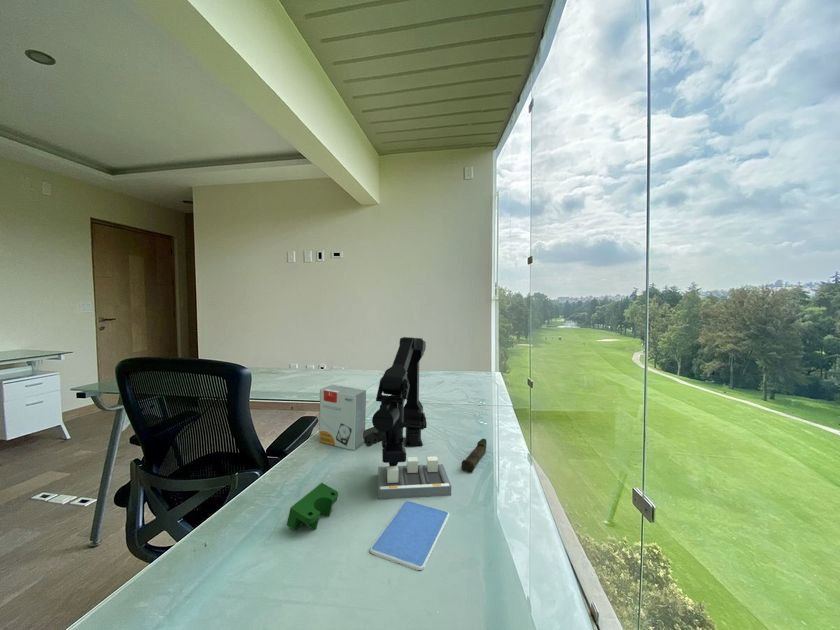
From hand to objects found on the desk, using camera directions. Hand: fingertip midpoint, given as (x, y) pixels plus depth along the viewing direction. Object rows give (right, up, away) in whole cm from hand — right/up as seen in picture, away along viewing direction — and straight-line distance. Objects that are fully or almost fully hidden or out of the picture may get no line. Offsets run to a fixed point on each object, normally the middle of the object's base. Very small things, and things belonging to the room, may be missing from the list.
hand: (392, 470), depth 96 cm
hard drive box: (-21, -2, +26) cm, 33 cm away
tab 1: (0, -1, -3) cm, 3 cm away
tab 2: (+6, -1, +3) cm, 6 cm away
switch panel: (+6, -4, +1) cm, 7 cm away
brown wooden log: (+27, -4, +17) cm, 32 cm away
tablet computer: (+6, -6, -18) cm, 21 cm away
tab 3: (+12, -1, +4) cm, 12 cm away
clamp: (-18, -5, -15) cm, 24 cm away
